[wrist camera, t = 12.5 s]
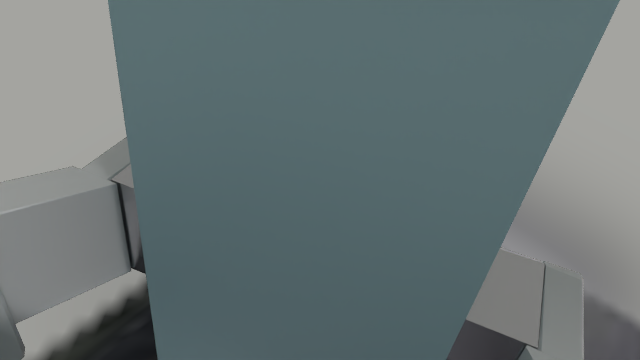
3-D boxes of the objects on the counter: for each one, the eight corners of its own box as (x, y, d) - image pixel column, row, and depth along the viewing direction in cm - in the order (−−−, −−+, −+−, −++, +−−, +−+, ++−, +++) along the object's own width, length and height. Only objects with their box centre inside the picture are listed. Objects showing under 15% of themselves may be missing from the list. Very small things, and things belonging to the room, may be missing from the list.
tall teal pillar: (424, 317, 16) (672, -302, 7) (344, 575, 10) (941, -630, 2) (303, 268, 17) (390, -330, 8) (173, 482, 11) (16, -601, 3)
